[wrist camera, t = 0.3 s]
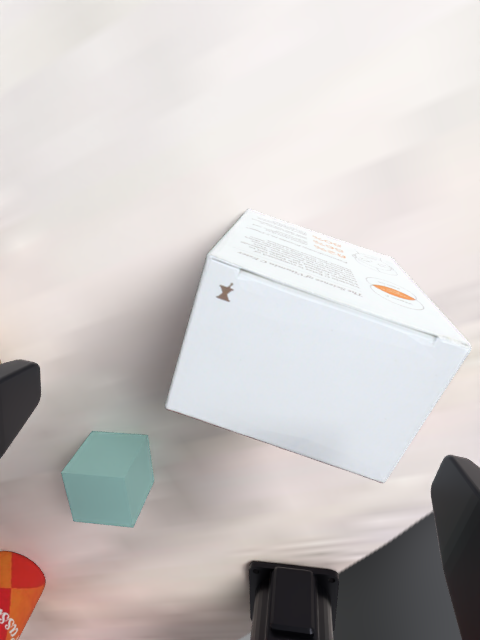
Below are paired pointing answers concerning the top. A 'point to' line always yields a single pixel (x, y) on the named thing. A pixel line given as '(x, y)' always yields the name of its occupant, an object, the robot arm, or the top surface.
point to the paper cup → (17, 593)
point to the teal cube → (109, 478)
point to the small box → (313, 347)
